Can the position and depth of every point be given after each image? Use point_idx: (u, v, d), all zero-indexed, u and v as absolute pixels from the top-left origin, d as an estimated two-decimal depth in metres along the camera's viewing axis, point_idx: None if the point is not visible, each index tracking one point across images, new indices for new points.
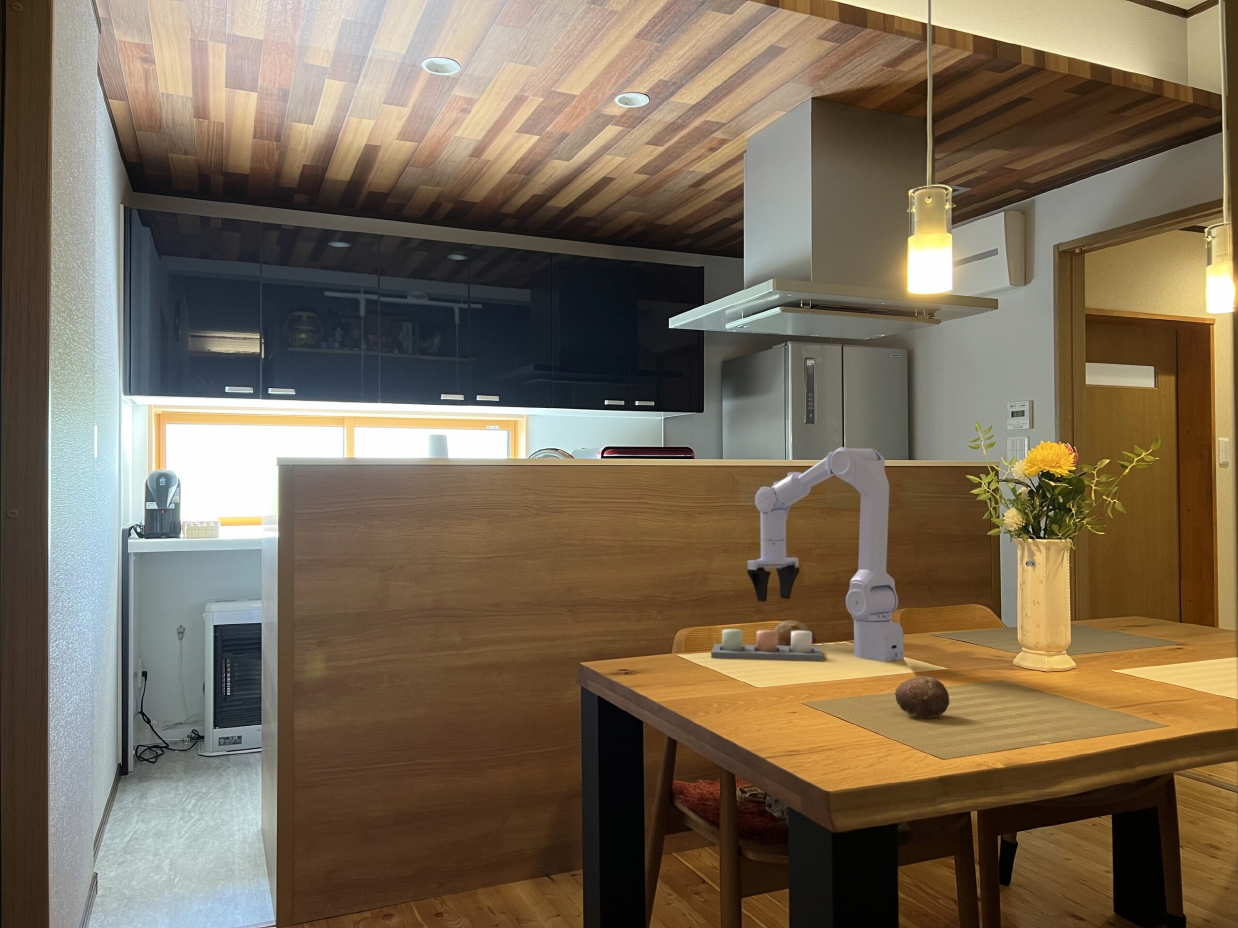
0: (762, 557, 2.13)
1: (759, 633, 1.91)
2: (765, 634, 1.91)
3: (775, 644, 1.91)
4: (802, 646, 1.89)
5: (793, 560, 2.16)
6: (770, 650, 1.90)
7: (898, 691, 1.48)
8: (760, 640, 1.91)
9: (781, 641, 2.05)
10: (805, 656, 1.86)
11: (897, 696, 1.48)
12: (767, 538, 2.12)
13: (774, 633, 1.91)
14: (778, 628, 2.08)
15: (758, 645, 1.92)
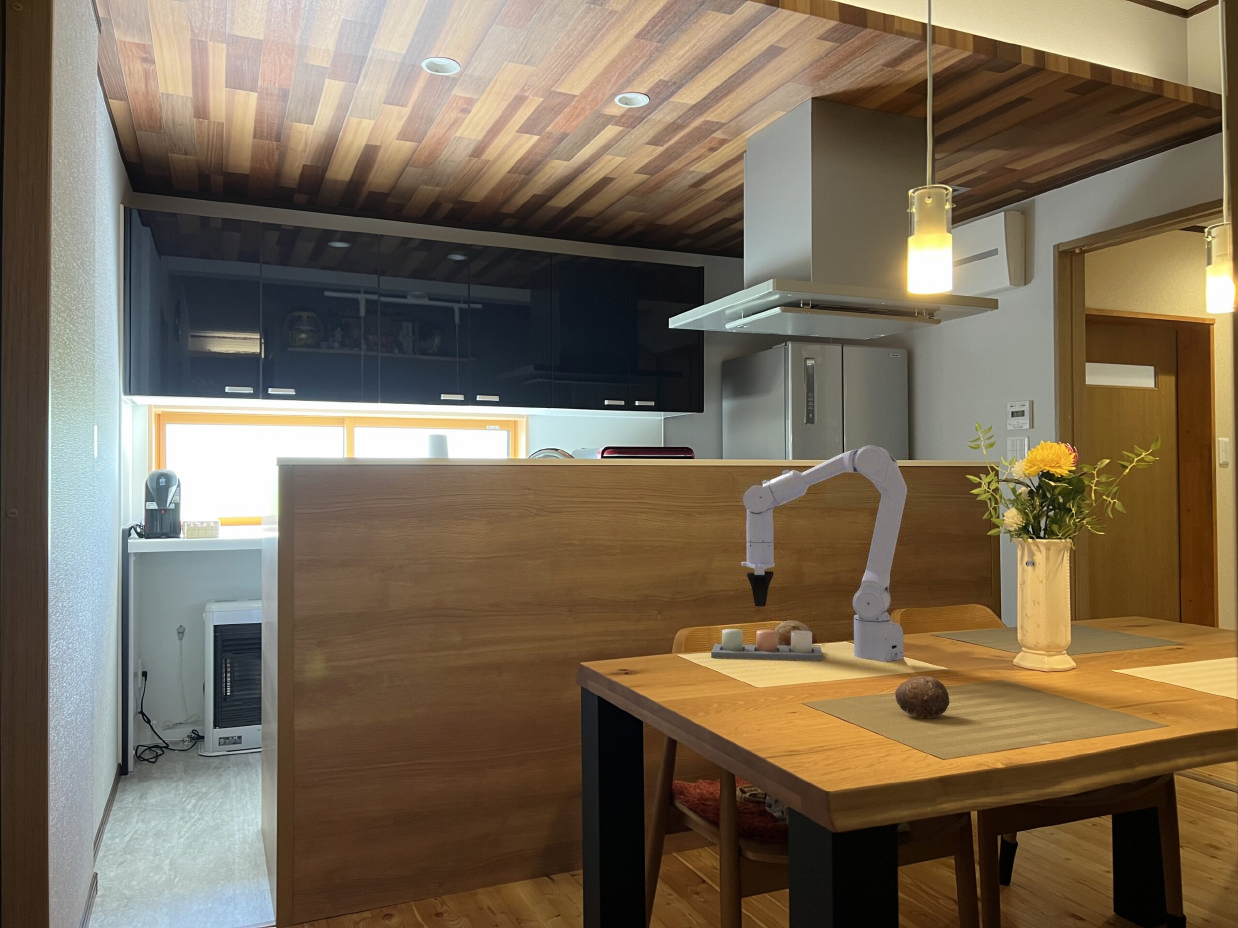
0: (755, 561, 1.98)
1: (759, 633, 1.91)
2: (765, 634, 1.91)
3: (775, 644, 1.91)
4: (802, 646, 1.89)
5: None
6: (770, 650, 1.90)
7: (898, 691, 1.48)
8: (760, 640, 1.91)
9: (781, 641, 2.05)
10: (805, 656, 1.86)
11: (897, 696, 1.48)
12: (760, 540, 1.98)
13: (774, 633, 1.91)
14: (778, 628, 2.08)
15: (758, 645, 1.92)
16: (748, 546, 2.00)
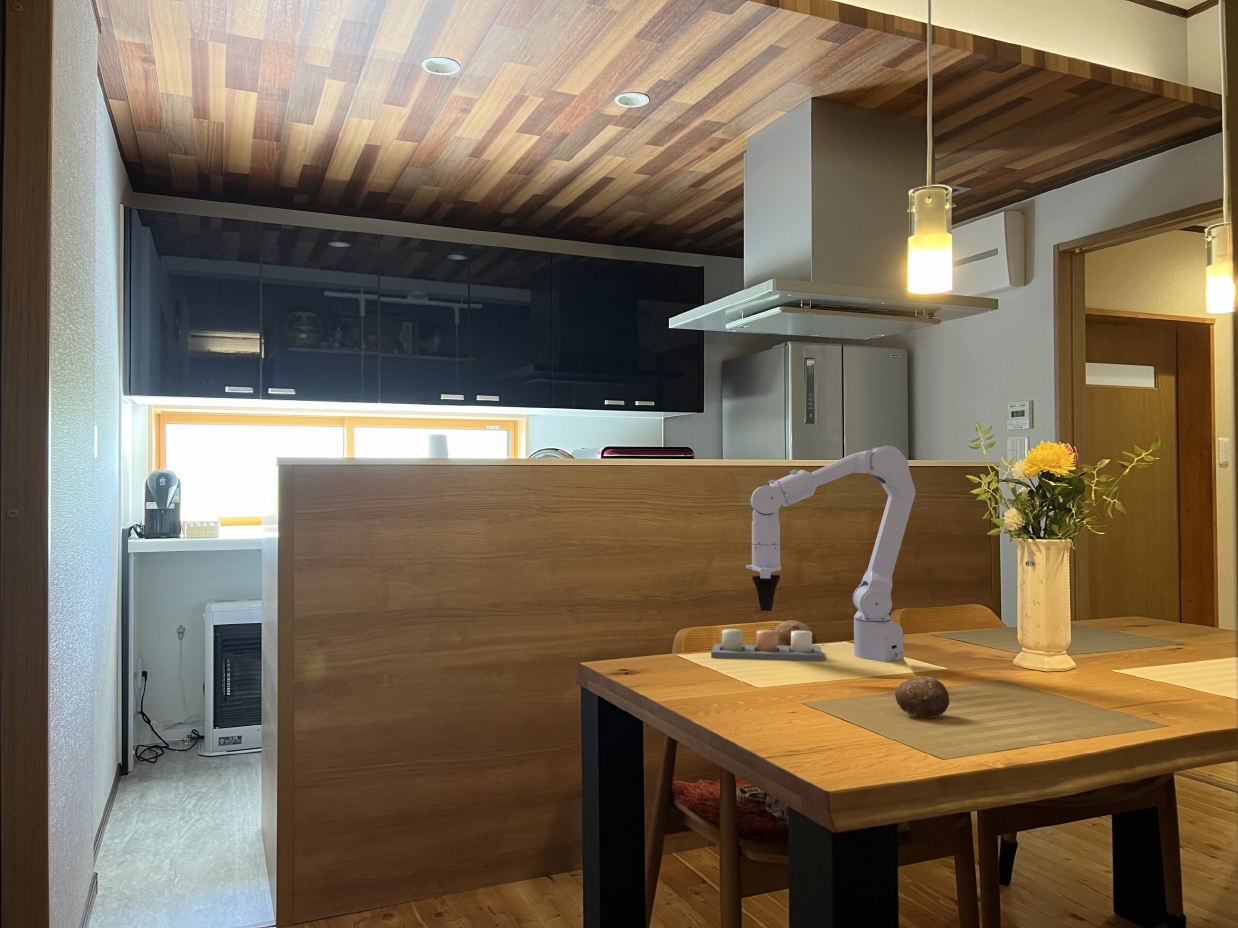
0: (761, 564, 1.91)
1: (759, 633, 1.91)
2: (765, 634, 1.91)
3: (775, 644, 1.91)
4: (802, 646, 1.89)
5: None
6: (770, 650, 1.90)
7: (898, 691, 1.48)
8: (760, 640, 1.91)
9: (781, 641, 2.05)
10: (805, 656, 1.86)
11: (897, 696, 1.48)
12: (770, 542, 1.91)
13: (774, 633, 1.91)
14: (779, 628, 2.08)
15: (758, 645, 1.92)
16: (753, 548, 1.92)
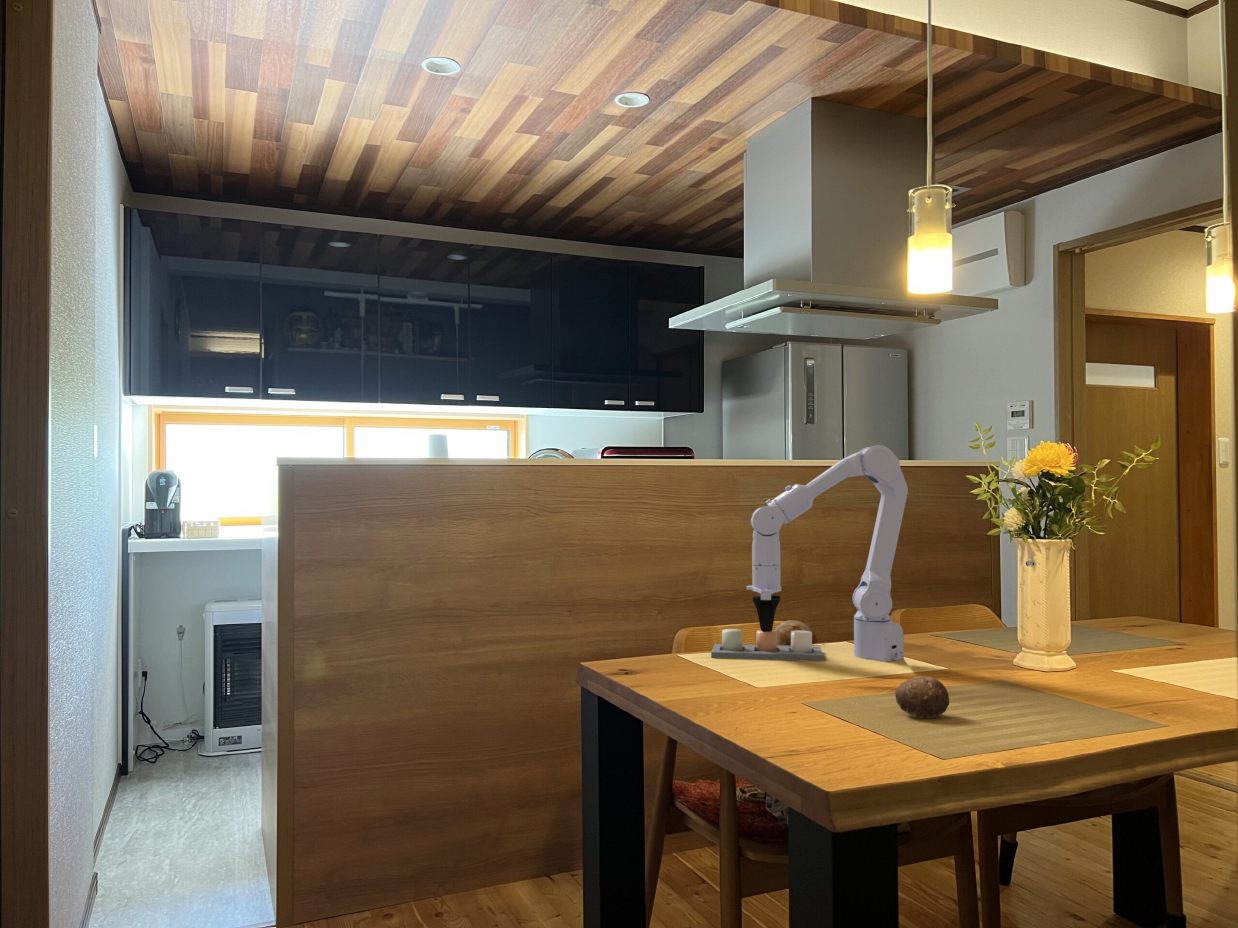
0: (762, 585, 1.90)
1: (759, 633, 1.91)
2: (765, 634, 1.91)
3: (775, 644, 1.91)
4: (802, 646, 1.89)
5: None
6: (770, 650, 1.90)
7: (898, 691, 1.48)
8: (760, 640, 1.91)
9: (782, 641, 2.05)
10: (805, 656, 1.86)
11: (897, 696, 1.48)
12: (771, 563, 1.90)
13: (774, 633, 1.91)
14: (779, 628, 2.08)
15: (758, 645, 1.92)
16: (754, 569, 1.92)
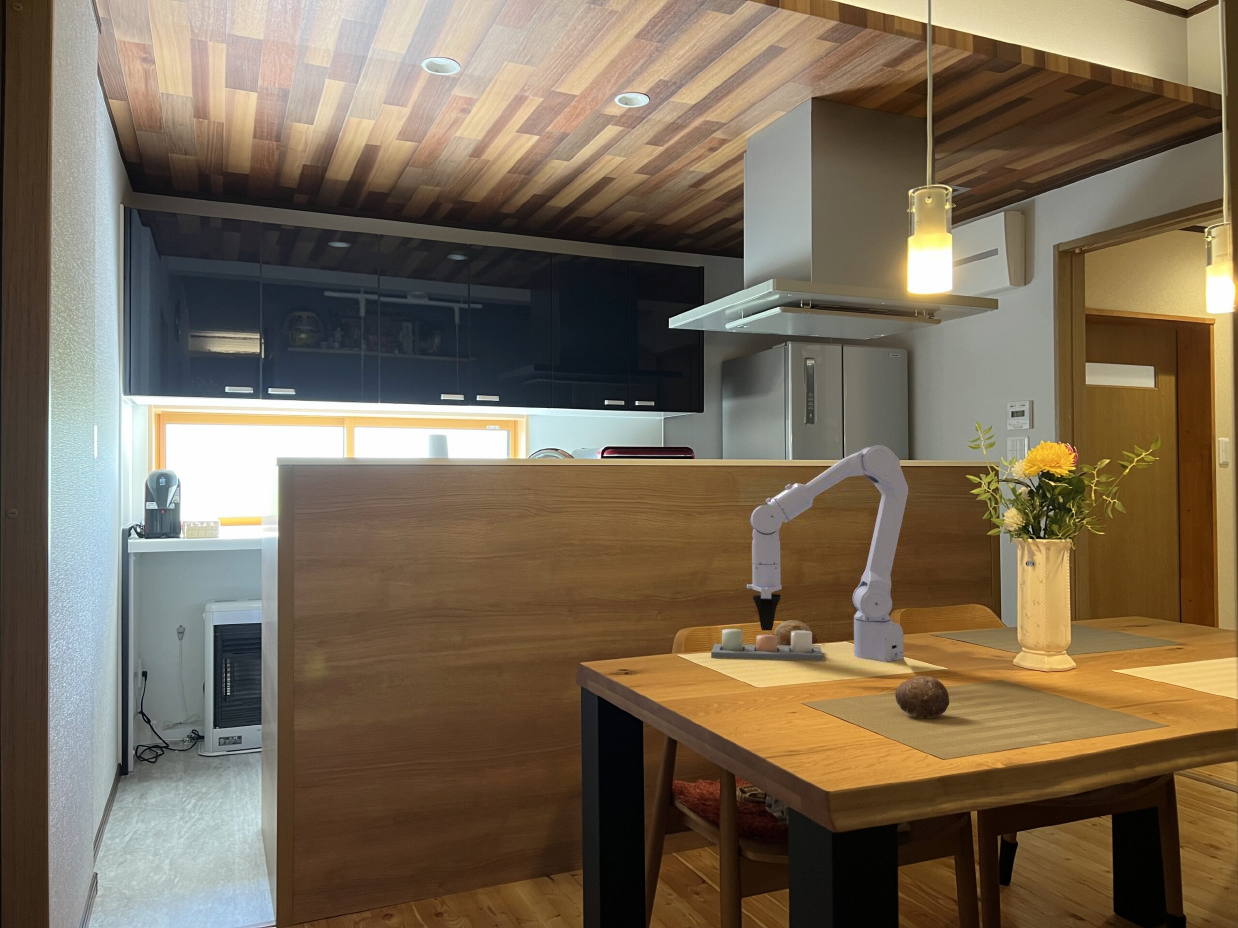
0: (762, 583, 1.90)
1: (759, 638, 1.91)
2: (765, 639, 1.91)
3: (775, 649, 1.91)
4: (802, 646, 1.89)
5: None
6: None
7: (898, 691, 1.48)
8: (760, 645, 1.91)
9: (782, 641, 2.05)
10: (805, 656, 1.86)
11: (897, 696, 1.48)
12: (771, 562, 1.90)
13: (774, 638, 1.91)
14: (779, 628, 2.08)
15: (758, 650, 1.91)
16: (754, 568, 1.92)
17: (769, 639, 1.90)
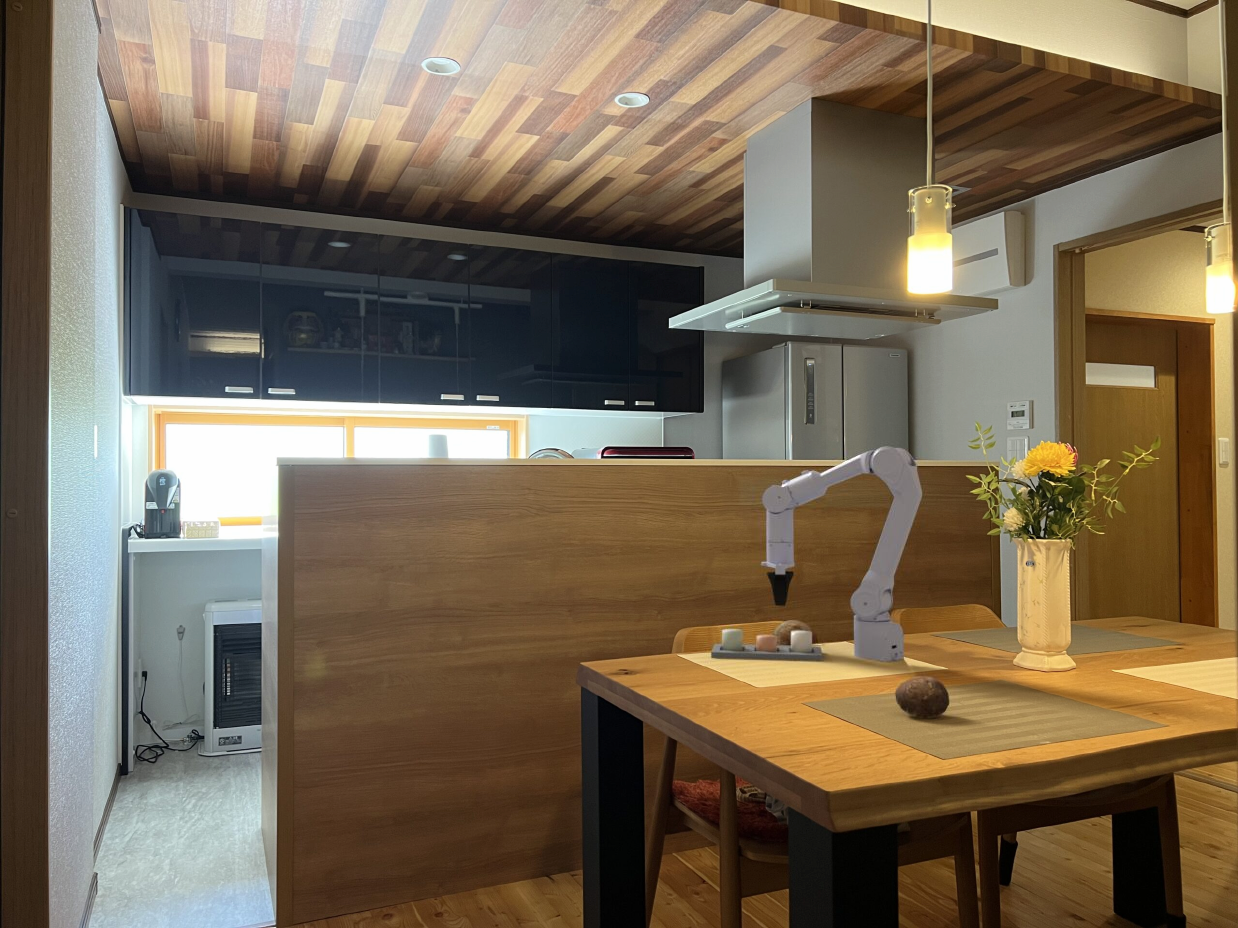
0: (776, 560, 1.99)
1: (759, 638, 1.91)
2: (765, 639, 1.91)
3: (775, 649, 1.91)
4: (802, 646, 1.89)
5: None
6: None
7: (898, 691, 1.48)
8: (760, 645, 1.91)
9: (782, 641, 2.05)
10: (805, 656, 1.86)
11: (897, 696, 1.48)
12: (779, 540, 1.99)
13: (774, 638, 1.91)
14: (779, 628, 2.08)
15: (758, 650, 1.91)
16: (768, 546, 2.00)
17: (769, 639, 1.90)
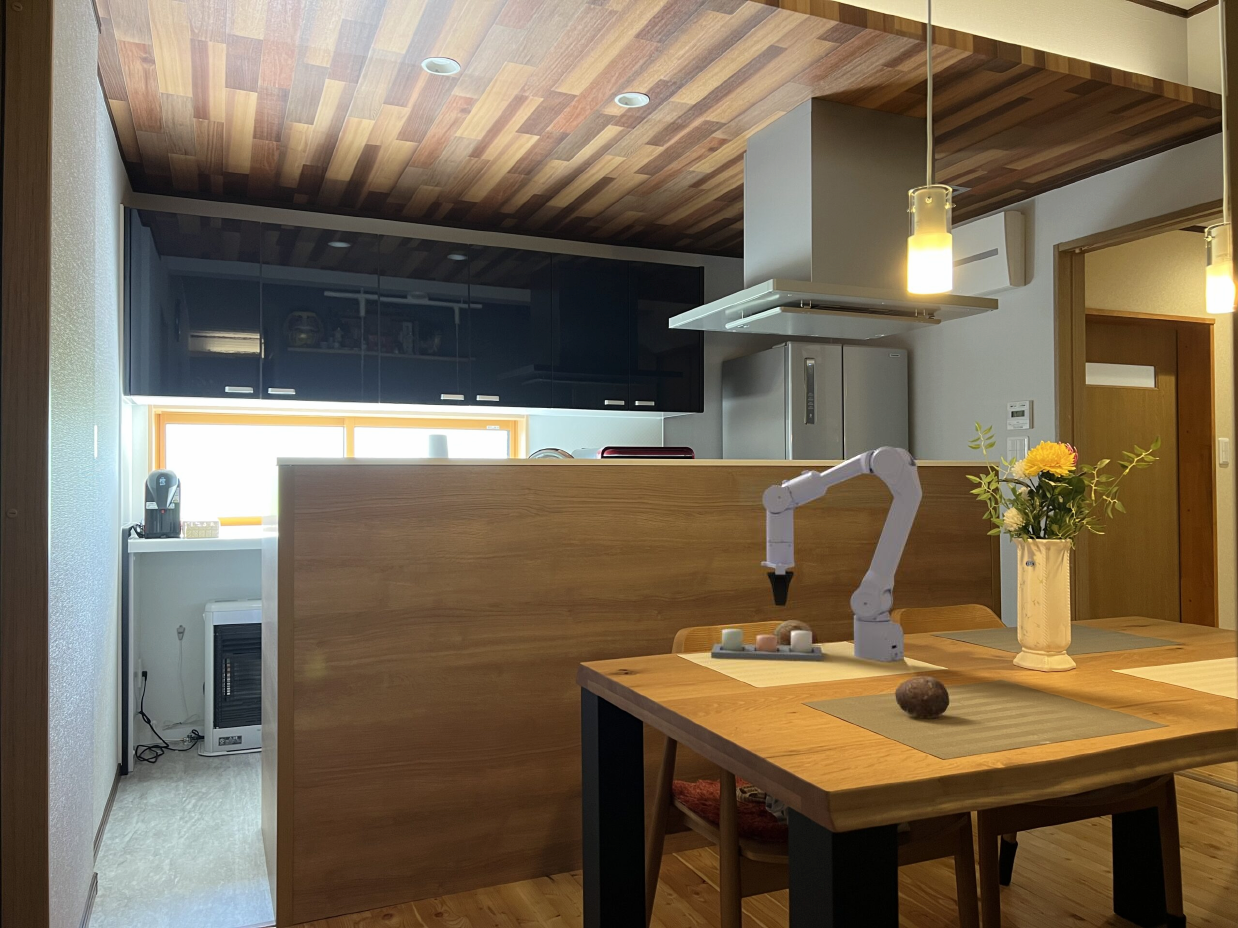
0: (776, 560, 1.99)
1: (759, 638, 1.91)
2: (765, 639, 1.91)
3: (775, 649, 1.91)
4: (802, 646, 1.89)
5: None
6: None
7: (898, 691, 1.48)
8: (760, 645, 1.91)
9: (782, 641, 2.05)
10: (805, 656, 1.86)
11: (897, 696, 1.48)
12: (779, 540, 1.99)
13: (774, 638, 1.91)
14: (780, 628, 2.08)
15: (758, 650, 1.91)
16: (768, 546, 2.00)
17: (769, 639, 1.90)
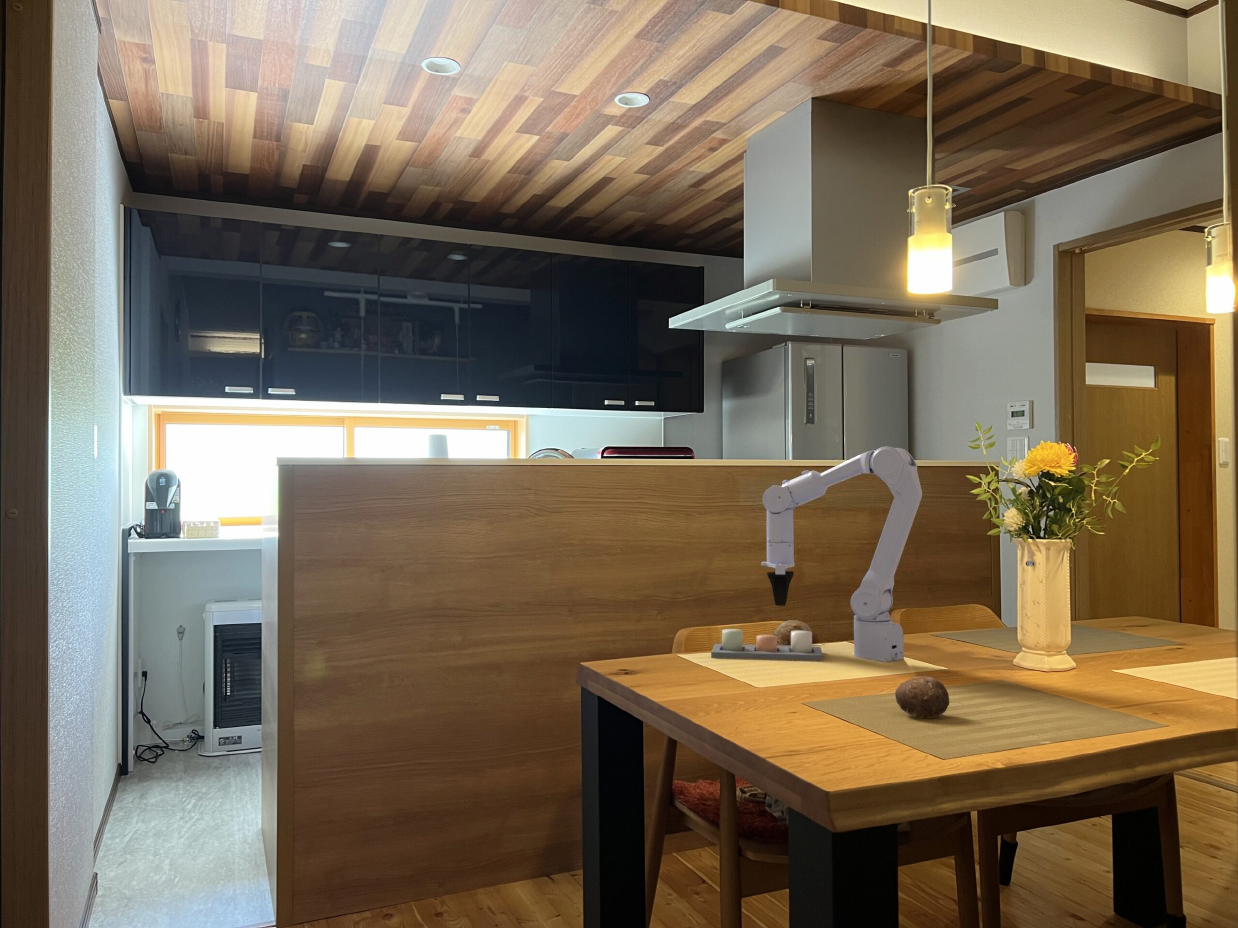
0: (776, 560, 1.99)
1: (759, 638, 1.91)
2: (765, 639, 1.91)
3: (775, 649, 1.91)
4: (802, 646, 1.89)
5: None
6: None
7: (898, 691, 1.48)
8: (760, 645, 1.91)
9: (783, 640, 2.05)
10: (805, 656, 1.86)
11: (897, 696, 1.48)
12: (779, 540, 1.99)
13: (774, 638, 1.91)
14: (780, 628, 2.08)
15: (758, 650, 1.91)
16: (768, 546, 2.00)
17: (769, 639, 1.90)
